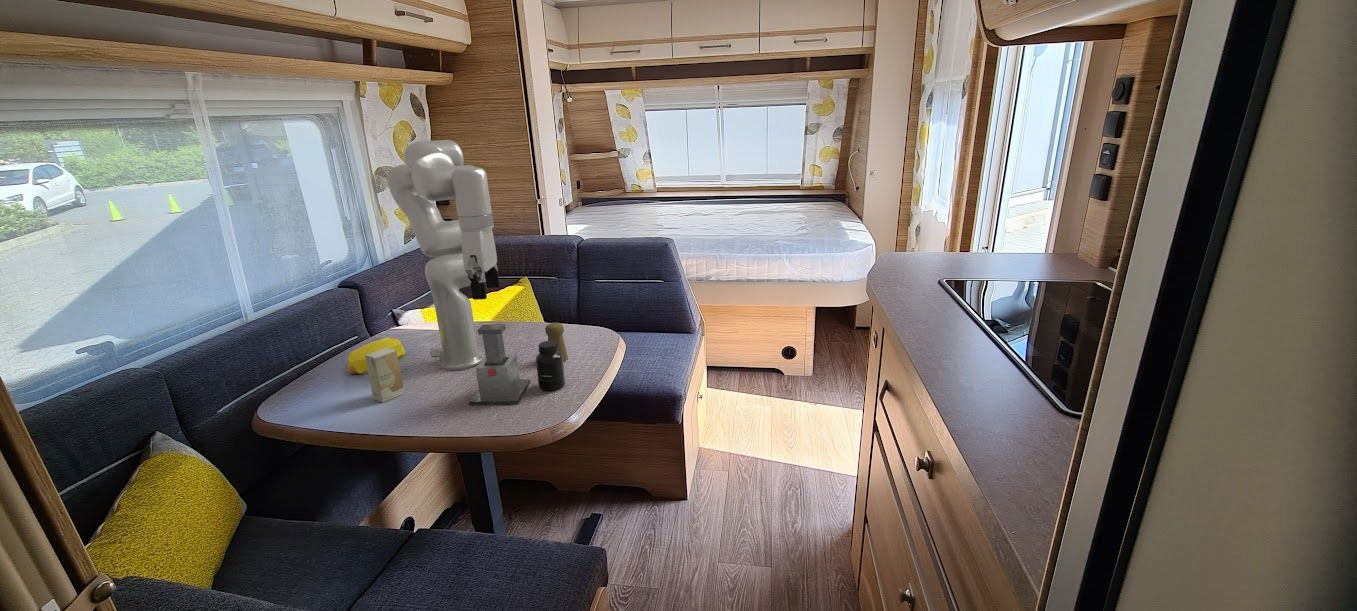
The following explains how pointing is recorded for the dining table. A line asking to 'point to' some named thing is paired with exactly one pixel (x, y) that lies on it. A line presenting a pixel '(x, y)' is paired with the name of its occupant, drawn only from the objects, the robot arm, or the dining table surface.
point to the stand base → (499, 383)
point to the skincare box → (384, 374)
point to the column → (493, 343)
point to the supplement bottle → (550, 367)
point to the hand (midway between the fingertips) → (486, 293)
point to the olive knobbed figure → (557, 337)
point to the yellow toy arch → (358, 356)
